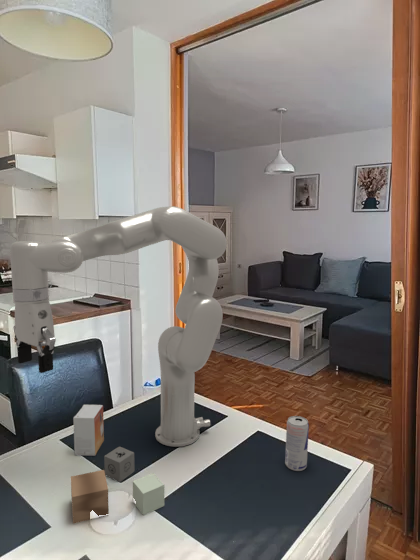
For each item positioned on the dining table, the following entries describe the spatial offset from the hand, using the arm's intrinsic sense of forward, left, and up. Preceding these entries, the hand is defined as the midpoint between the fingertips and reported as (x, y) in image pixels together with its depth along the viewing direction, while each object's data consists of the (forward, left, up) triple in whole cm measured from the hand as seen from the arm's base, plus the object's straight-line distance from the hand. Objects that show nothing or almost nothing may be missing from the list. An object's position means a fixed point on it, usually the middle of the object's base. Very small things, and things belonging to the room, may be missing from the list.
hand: (35, 366), depth 94 cm
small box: (-12, -6, -27) cm, 30 cm away
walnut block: (-10, +18, -27) cm, 34 cm away
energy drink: (-60, +20, -27) cm, 69 cm away
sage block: (-22, +21, -27) cm, 40 cm away
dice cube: (-18, +8, -27) cm, 33 cm away
